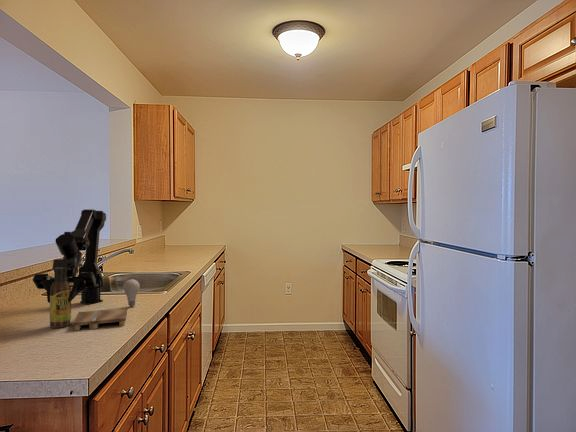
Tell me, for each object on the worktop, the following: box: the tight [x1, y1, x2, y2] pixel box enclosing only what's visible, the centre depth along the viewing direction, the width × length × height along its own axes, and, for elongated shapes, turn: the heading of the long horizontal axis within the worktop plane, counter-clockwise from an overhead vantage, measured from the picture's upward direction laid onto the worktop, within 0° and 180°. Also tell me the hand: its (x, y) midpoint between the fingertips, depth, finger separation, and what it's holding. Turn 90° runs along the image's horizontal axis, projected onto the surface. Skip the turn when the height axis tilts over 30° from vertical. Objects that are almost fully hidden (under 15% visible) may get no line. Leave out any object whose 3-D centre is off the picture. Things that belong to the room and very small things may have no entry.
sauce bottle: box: [49, 268, 72, 329], centre depth 133 cm, size 6×6×20 cm
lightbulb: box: [122, 278, 141, 308], centre depth 159 cm, size 6×6×11 cm
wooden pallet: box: [71, 307, 128, 331], centre depth 137 cm, size 16×14×2 cm
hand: (59, 301), depth 132 cm, fingers closed on sauce bottle, 6 cm apart
